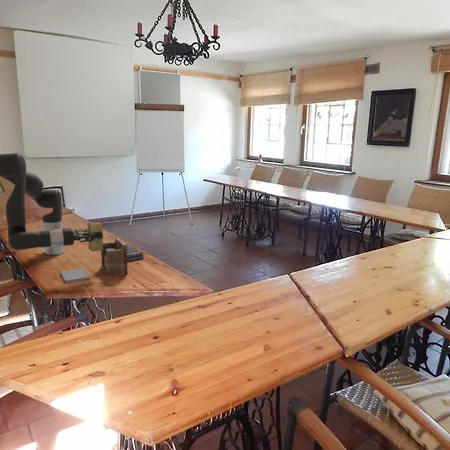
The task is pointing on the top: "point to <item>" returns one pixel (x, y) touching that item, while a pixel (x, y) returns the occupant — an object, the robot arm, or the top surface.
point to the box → (133, 254)
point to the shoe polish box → (97, 243)
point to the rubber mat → (75, 275)
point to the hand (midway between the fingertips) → (100, 233)
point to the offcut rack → (114, 258)
